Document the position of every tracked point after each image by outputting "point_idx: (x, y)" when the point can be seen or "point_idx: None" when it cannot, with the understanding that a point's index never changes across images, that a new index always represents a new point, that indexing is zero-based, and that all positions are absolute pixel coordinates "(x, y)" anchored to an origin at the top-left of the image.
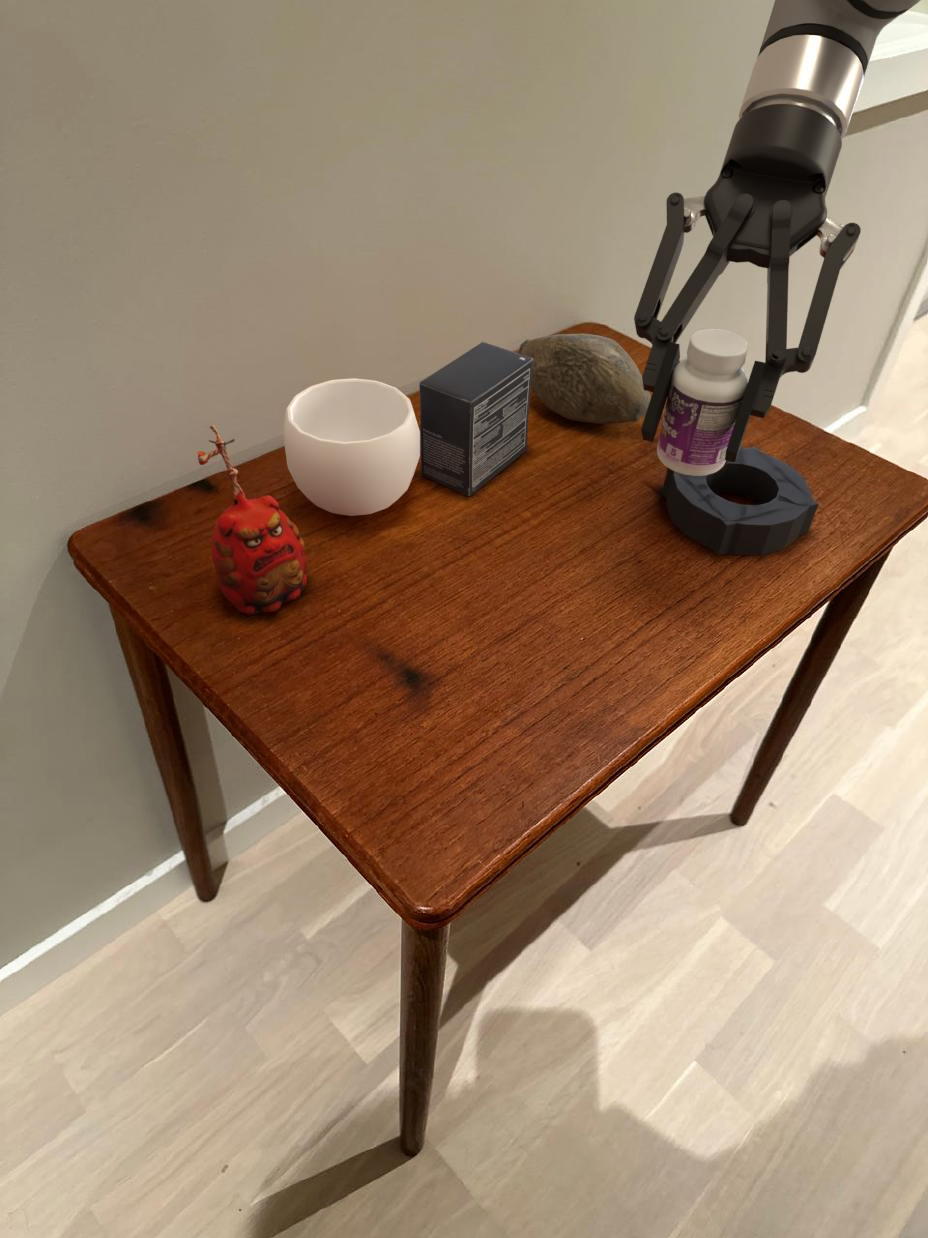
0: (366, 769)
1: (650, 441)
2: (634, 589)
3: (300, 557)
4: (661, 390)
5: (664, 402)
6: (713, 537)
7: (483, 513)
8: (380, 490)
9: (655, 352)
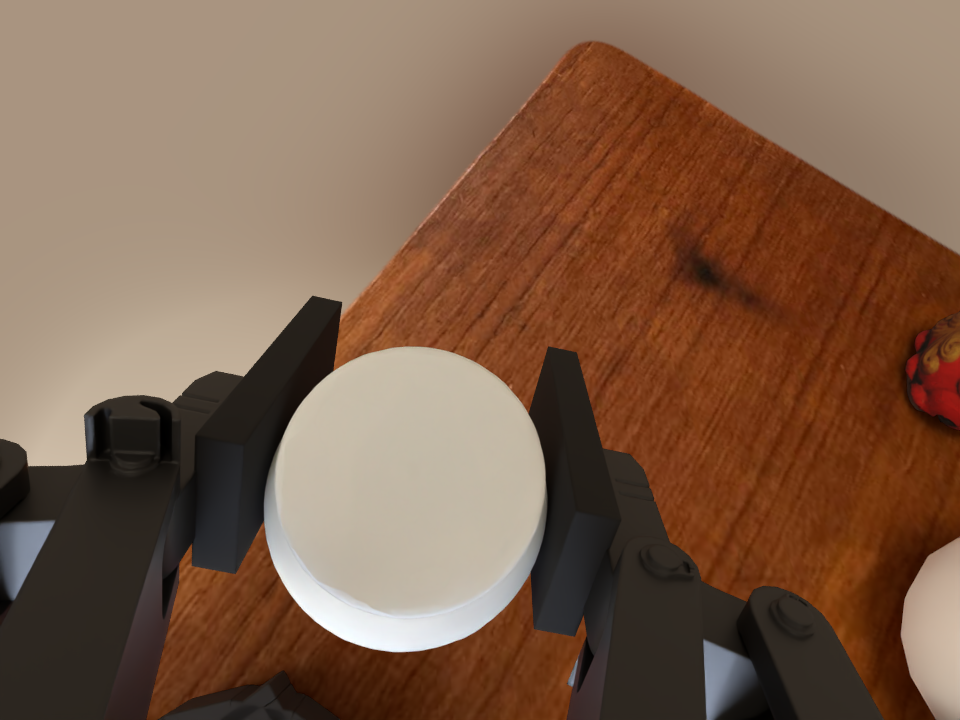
0: (700, 150)
1: None
2: None
3: (957, 371)
4: (567, 405)
5: None
6: (292, 698)
7: None
8: (949, 553)
9: (645, 527)
